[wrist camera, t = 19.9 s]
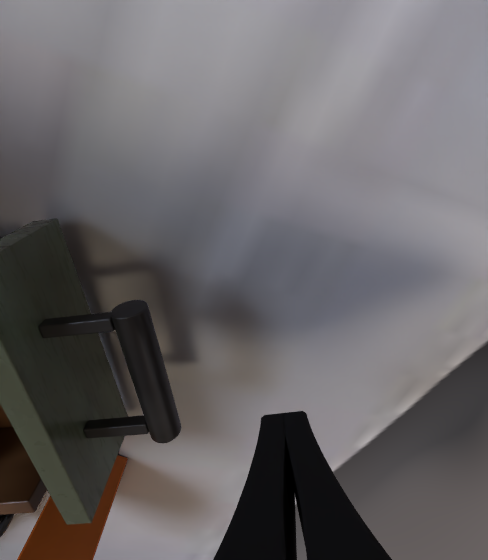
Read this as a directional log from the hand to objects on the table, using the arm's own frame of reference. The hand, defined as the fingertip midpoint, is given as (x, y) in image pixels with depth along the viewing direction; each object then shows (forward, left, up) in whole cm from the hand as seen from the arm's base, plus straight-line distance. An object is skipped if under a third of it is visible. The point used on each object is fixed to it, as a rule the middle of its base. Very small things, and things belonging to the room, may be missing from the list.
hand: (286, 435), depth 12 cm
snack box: (+11, -13, -8) cm, 19 cm away
